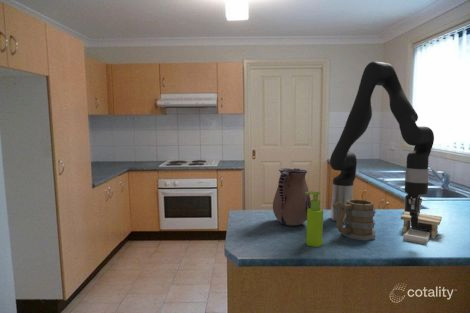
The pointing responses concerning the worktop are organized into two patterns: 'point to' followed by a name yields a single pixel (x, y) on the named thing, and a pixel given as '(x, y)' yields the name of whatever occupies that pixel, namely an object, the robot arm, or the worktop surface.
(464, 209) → the worktop surface
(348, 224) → the tankard
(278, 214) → the ceramic pitcher
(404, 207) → the supplement bottle
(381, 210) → the worktop surface
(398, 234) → the worktop surface
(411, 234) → the white pull-out drawer
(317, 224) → the soap dispenser
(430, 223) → the small wooden table
